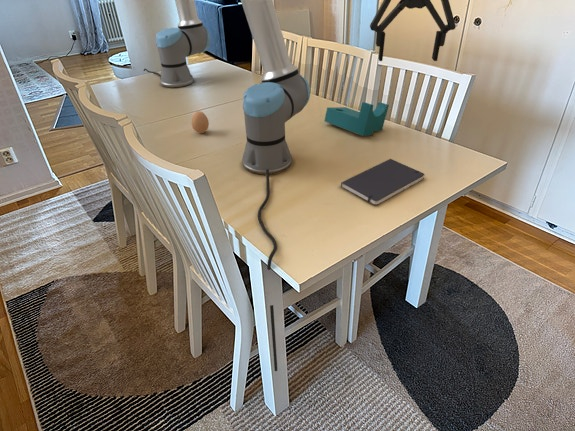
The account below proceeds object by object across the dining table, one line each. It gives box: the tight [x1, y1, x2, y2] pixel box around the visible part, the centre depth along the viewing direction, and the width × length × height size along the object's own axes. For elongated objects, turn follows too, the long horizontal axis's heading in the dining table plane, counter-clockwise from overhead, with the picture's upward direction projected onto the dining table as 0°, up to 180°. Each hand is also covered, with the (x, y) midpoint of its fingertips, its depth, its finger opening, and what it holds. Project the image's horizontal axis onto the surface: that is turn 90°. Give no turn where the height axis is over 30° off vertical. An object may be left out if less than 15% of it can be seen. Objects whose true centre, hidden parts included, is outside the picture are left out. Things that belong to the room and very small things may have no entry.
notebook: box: [340, 158, 425, 206], centre depth 114 cm, size 13×2×21 cm
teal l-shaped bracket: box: [324, 101, 390, 137], centre depth 144 cm, size 18×11×10 cm, turn 43°
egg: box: [190, 110, 210, 134], centre depth 143 cm, size 6×6×8 cm
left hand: (261, 26), depth 164 cm, fingers closed on canister, 9 cm apart
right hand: (407, 59), depth 104 cm, fingers open, 13 cm apart
